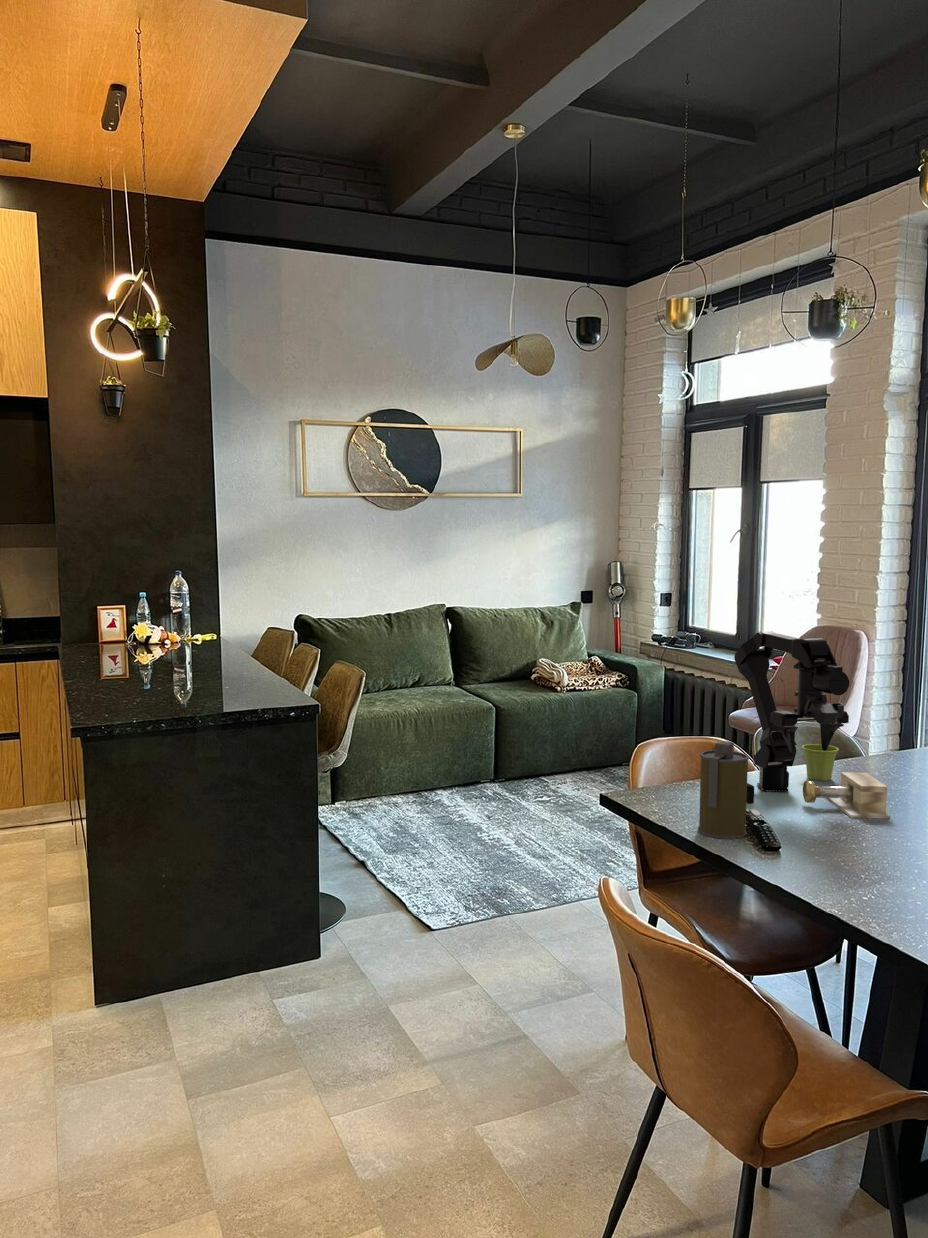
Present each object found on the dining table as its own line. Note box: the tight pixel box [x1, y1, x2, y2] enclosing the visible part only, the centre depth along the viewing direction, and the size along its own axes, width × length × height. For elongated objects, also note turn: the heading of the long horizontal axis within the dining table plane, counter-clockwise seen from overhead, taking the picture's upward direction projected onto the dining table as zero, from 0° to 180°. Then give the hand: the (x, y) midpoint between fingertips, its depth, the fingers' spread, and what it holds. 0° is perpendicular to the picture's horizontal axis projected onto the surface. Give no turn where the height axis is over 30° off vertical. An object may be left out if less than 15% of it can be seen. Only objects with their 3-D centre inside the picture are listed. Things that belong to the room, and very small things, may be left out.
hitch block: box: [826, 771, 891, 820], centre depth 220 cm, size 9×18×7 cm, turn 177°
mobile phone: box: [746, 782, 755, 804], centre depth 230 cm, size 5×3×15 cm
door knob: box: [802, 780, 854, 804], centre depth 220 cm, size 16×5×5 cm, turn 87°
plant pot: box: [801, 743, 840, 782], centre depth 248 cm, size 9×9×9 cm
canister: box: [697, 740, 750, 840], centre depth 200 cm, size 11×10×20 cm
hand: (808, 751), depth 223 cm, fingers open, 9 cm apart
